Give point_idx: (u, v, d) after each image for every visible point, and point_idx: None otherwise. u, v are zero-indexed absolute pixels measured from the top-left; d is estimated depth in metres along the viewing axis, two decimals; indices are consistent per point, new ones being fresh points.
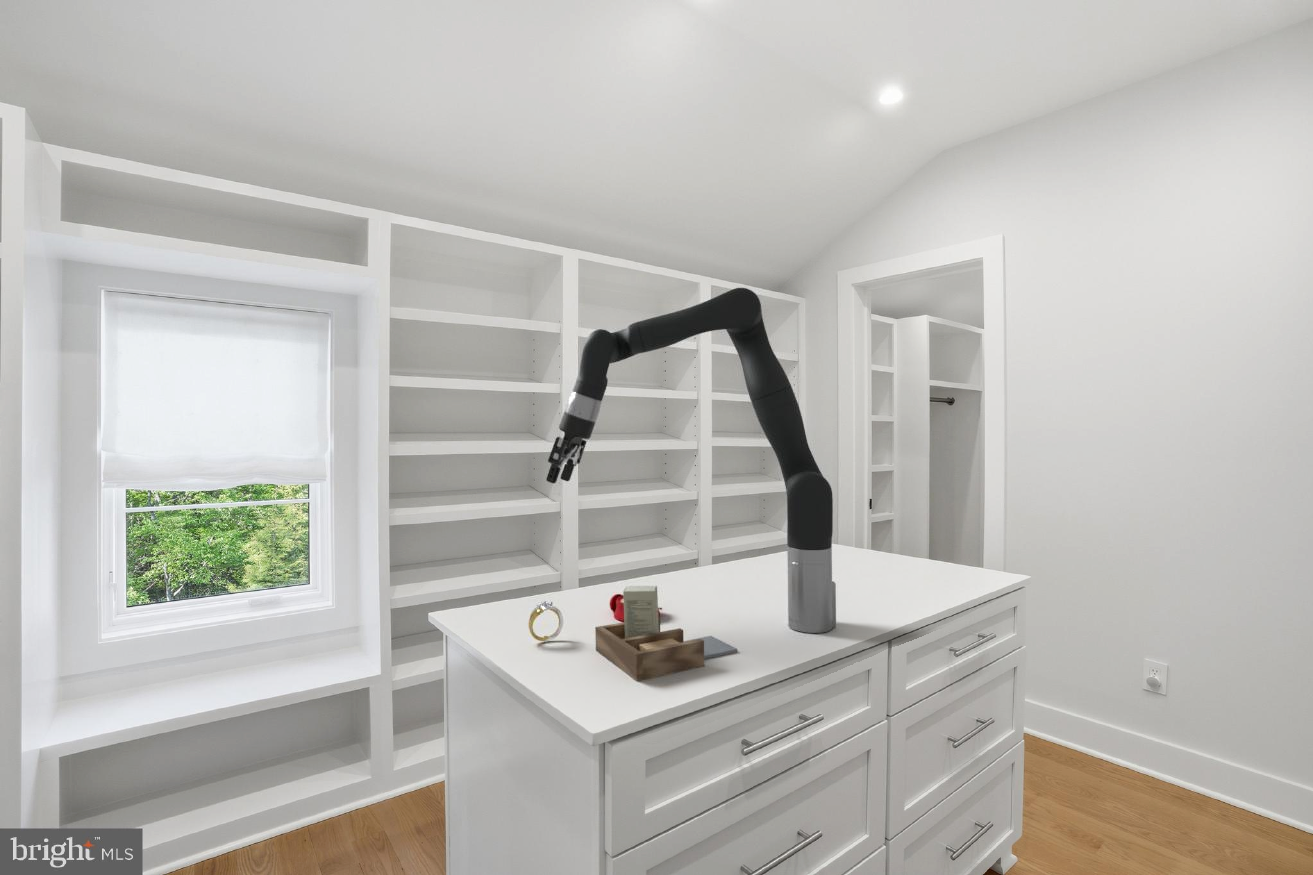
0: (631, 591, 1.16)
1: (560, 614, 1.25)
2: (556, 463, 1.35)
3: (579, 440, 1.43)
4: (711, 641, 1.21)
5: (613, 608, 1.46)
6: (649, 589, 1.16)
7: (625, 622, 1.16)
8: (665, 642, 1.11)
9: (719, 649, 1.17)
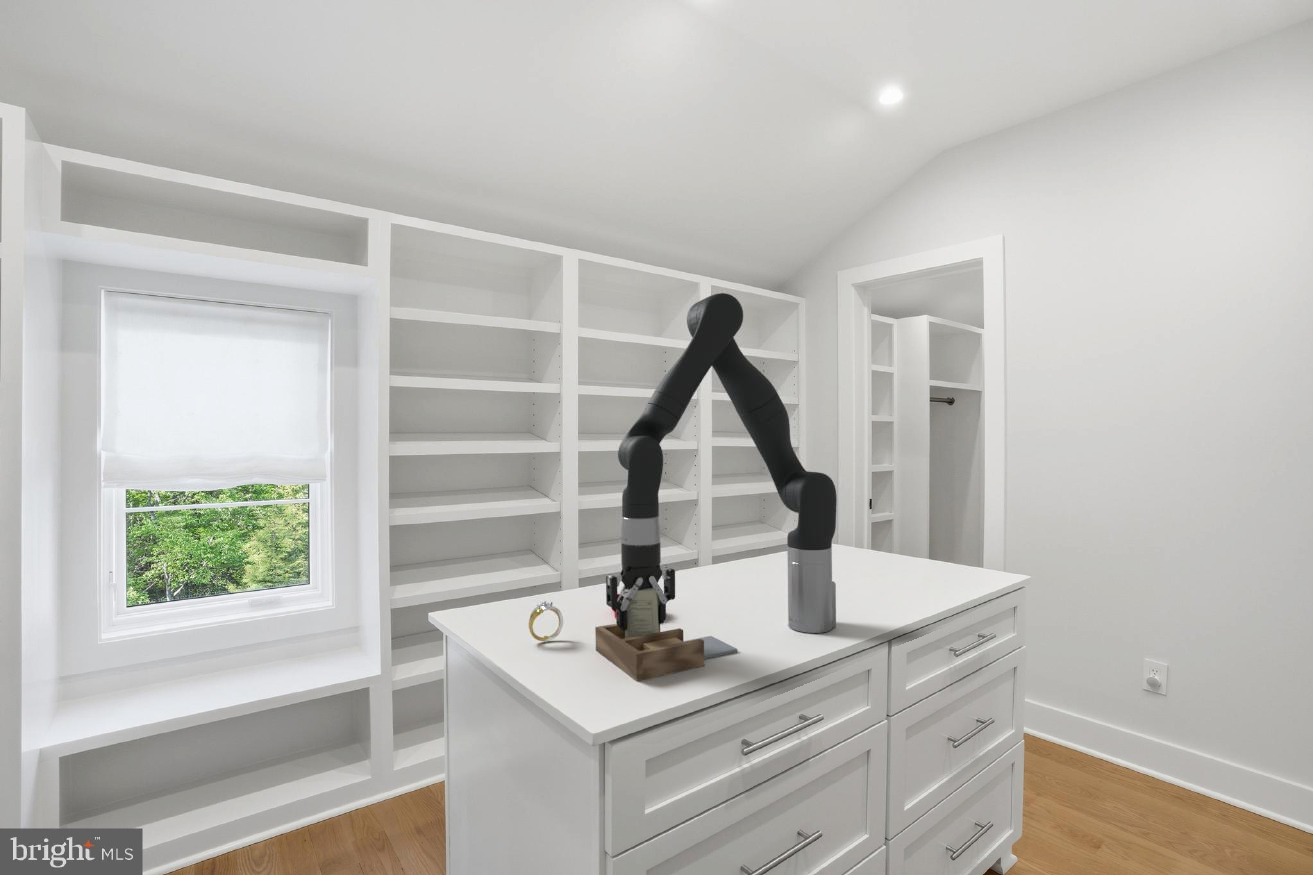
0: None
1: (560, 614, 1.25)
2: (611, 606, 1.14)
3: (652, 570, 1.18)
4: (711, 641, 1.21)
5: None
6: (649, 589, 1.16)
7: None
8: (669, 641, 1.12)
9: (719, 649, 1.17)
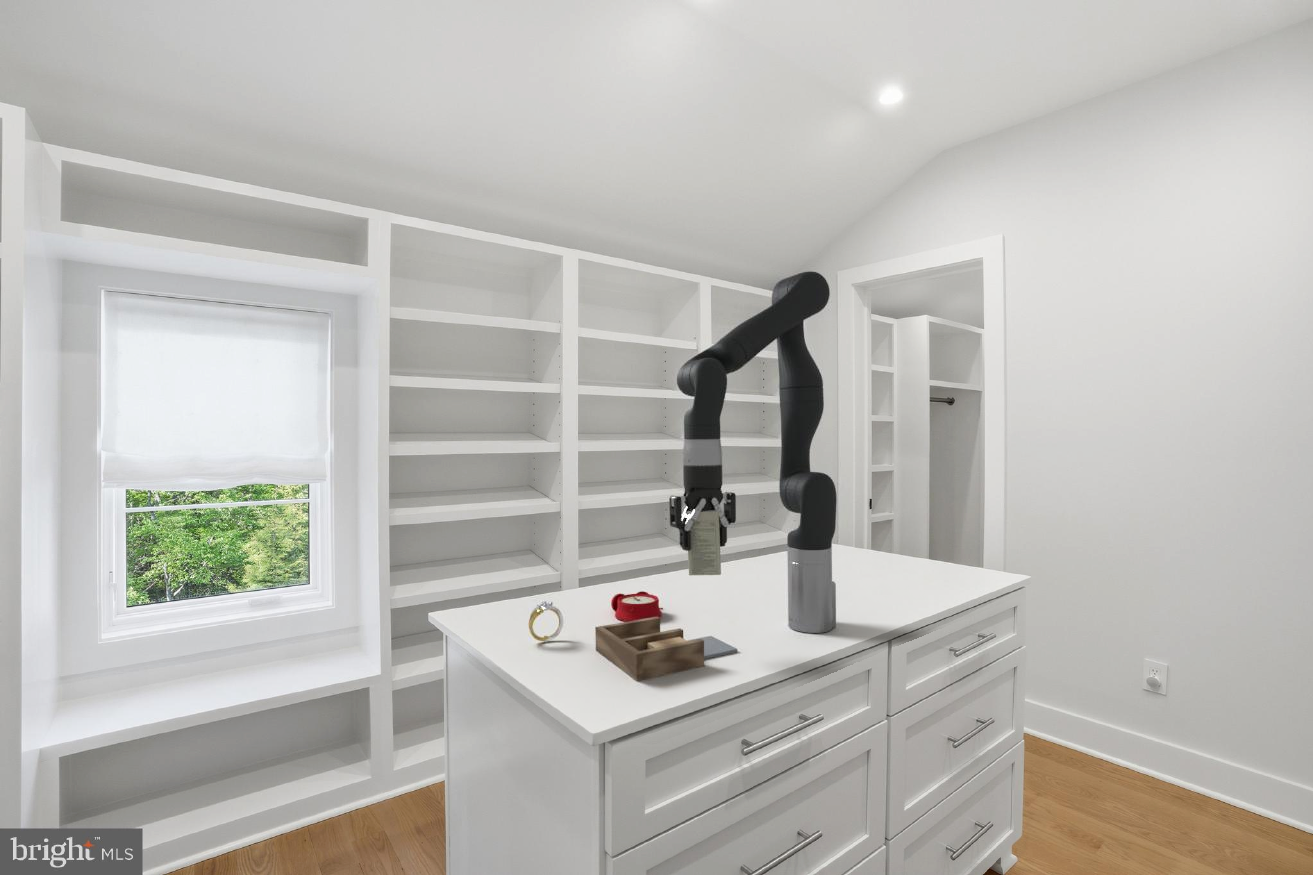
0: None
1: (560, 614, 1.25)
2: (675, 525, 1.15)
3: (714, 492, 1.19)
4: (711, 641, 1.21)
5: (615, 608, 1.46)
6: (712, 510, 1.17)
7: None
8: (673, 641, 1.12)
9: (719, 649, 1.17)
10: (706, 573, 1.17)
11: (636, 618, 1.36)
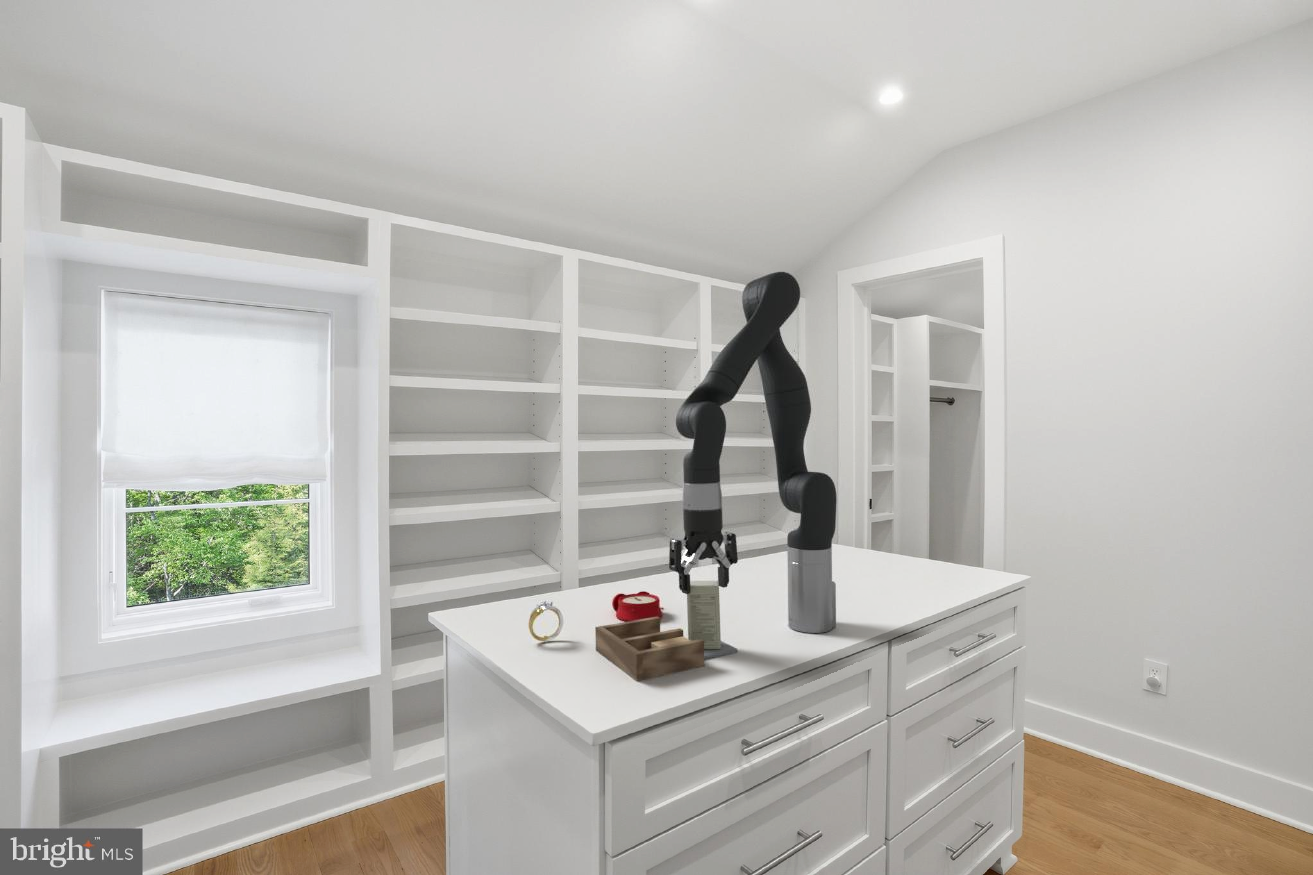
0: (694, 585, 1.17)
1: (560, 614, 1.25)
2: (674, 569, 1.14)
3: (714, 535, 1.19)
4: None
5: (616, 607, 1.46)
6: (712, 584, 1.17)
7: (688, 616, 1.17)
8: (677, 640, 1.12)
9: (719, 649, 1.17)
10: (706, 647, 1.16)
11: (637, 618, 1.36)
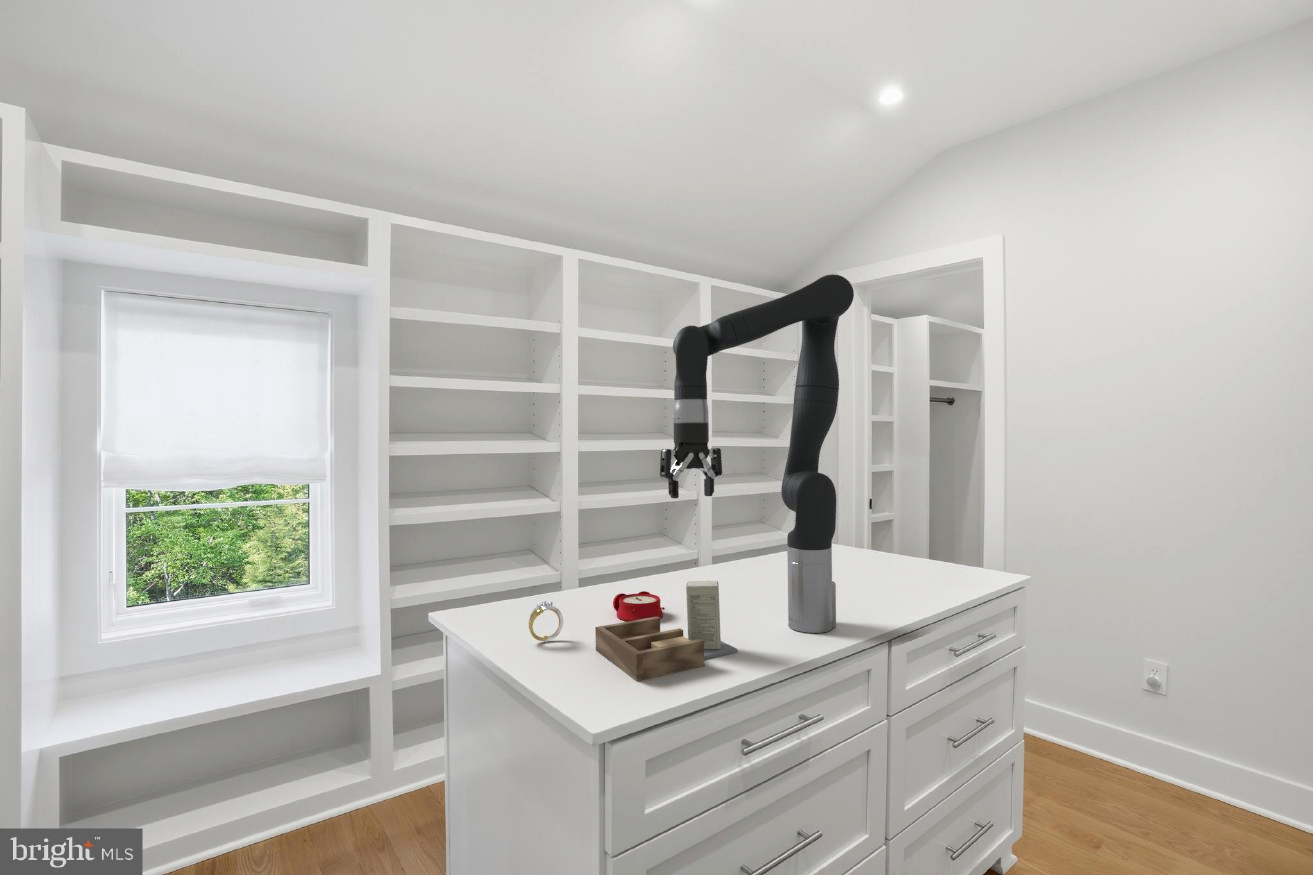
0: (694, 586, 1.17)
1: (560, 614, 1.25)
2: (664, 475, 1.27)
3: (701, 448, 1.31)
4: None
5: (616, 607, 1.46)
6: (712, 584, 1.17)
7: (688, 617, 1.17)
8: (677, 640, 1.12)
9: (719, 649, 1.17)
10: (706, 647, 1.16)
11: (637, 618, 1.36)
